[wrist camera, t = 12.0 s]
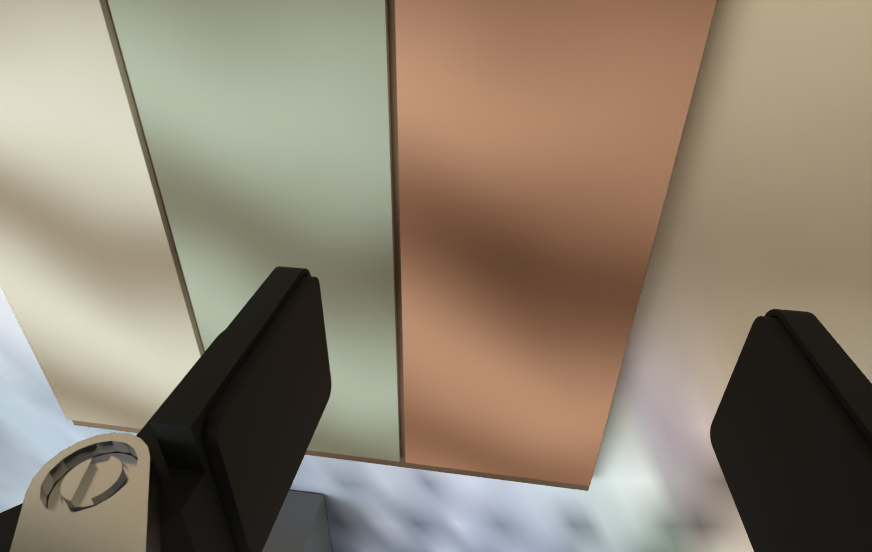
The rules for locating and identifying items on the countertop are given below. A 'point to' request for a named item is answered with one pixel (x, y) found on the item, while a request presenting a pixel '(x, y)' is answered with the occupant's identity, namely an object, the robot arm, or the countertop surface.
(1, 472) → the countertop surface
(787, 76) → the countertop surface
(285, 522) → the die
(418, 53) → the striped panel
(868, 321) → the countertop surface
